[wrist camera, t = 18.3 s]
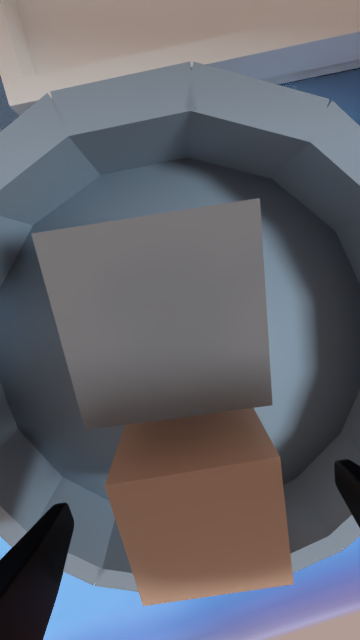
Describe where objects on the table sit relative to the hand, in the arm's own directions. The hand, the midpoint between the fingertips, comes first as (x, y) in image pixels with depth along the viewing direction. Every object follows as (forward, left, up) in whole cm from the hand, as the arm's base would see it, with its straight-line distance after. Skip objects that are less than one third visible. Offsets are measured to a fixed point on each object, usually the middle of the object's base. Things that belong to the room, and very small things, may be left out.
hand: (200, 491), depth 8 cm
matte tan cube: (0, 0, -3) cm, 3 cm away
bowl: (0, -3, -4) cm, 5 cm away
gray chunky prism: (0, -6, -3) cm, 7 cm away
